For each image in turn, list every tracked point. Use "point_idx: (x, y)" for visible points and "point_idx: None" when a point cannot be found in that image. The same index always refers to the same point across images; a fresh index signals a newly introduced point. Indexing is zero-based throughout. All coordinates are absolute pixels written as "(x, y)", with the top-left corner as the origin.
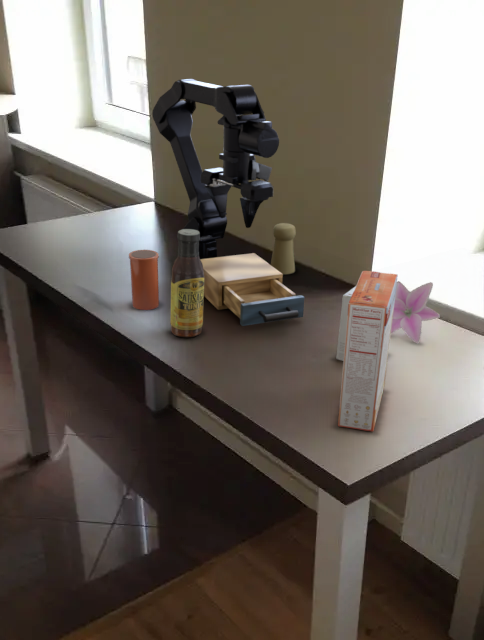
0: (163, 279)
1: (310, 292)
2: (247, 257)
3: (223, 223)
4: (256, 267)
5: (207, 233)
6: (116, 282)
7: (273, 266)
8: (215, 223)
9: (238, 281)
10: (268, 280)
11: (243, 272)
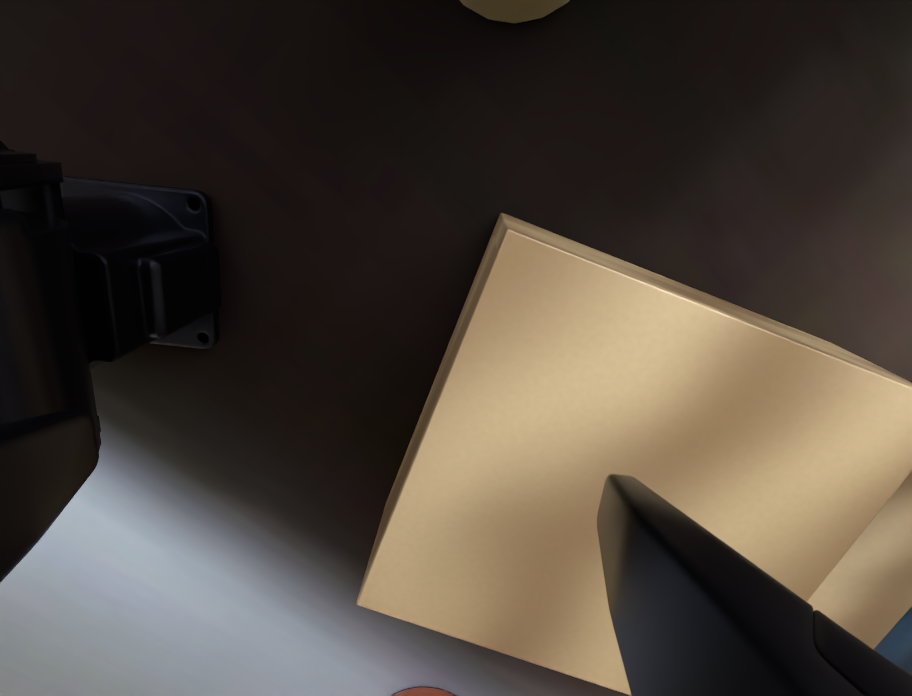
0: (234, 537)
1: (909, 109)
2: (545, 344)
3: (29, 273)
4: (731, 442)
5: (94, 413)
6: (166, 667)
7: (505, 2)
8: (33, 382)
9: None
10: None
11: None
